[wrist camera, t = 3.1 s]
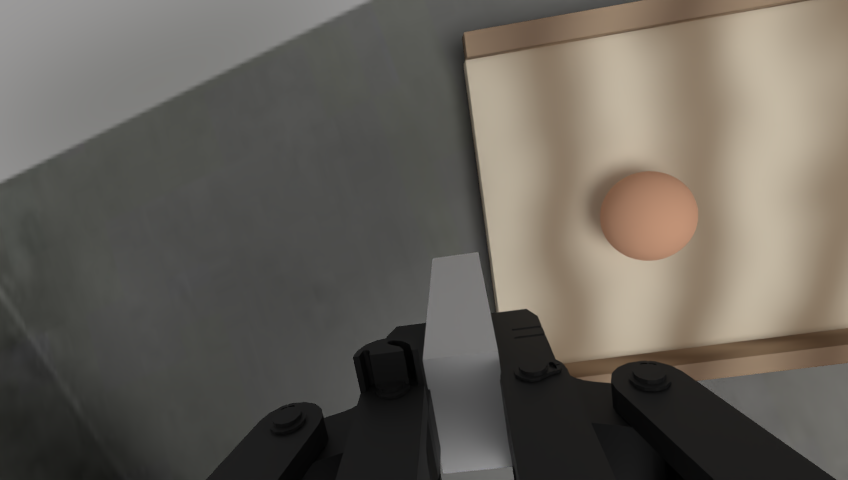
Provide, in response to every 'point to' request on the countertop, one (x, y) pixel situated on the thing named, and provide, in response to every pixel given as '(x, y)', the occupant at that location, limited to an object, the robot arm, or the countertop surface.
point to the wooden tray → (681, 158)
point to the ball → (649, 215)
